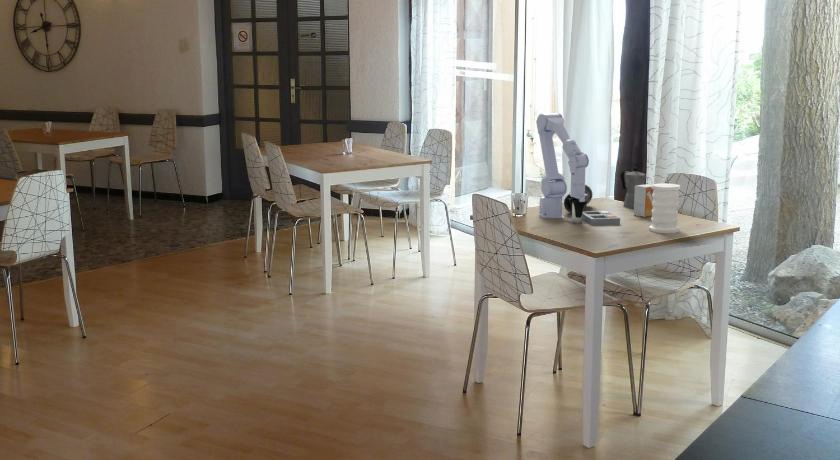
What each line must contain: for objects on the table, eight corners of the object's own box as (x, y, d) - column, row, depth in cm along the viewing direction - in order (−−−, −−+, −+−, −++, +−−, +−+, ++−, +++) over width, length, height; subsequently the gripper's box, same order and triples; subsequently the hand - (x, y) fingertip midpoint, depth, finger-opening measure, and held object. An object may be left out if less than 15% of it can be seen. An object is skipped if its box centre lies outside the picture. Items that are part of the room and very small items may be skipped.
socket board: (591, 226, 379) (591, 218, 378) (578, 218, 396) (579, 210, 396) (619, 225, 380) (620, 217, 379) (606, 217, 397) (606, 210, 397)
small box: (644, 217, 397) (645, 187, 395) (633, 215, 402) (634, 185, 400) (657, 215, 402) (658, 185, 400) (645, 213, 407) (647, 183, 405)
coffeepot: (652, 207, 421) (653, 168, 418) (637, 209, 416) (638, 169, 413) (627, 203, 434) (628, 164, 430) (612, 205, 429) (613, 166, 425)
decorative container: (674, 227, 375) (676, 183, 372) (683, 233, 364) (685, 187, 361) (645, 227, 375) (647, 183, 372) (653, 233, 364) (655, 187, 360)
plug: (573, 223, 383) (573, 203, 381) (570, 221, 387) (571, 202, 385) (582, 222, 383) (583, 203, 382) (580, 221, 387) (580, 202, 386)
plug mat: (570, 225, 381) (570, 223, 381) (566, 222, 388) (566, 220, 388) (587, 224, 382) (587, 223, 382) (582, 221, 389) (582, 220, 389)
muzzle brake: (562, 215, 403) (563, 192, 401) (571, 205, 430) (572, 183, 428) (585, 216, 401) (585, 192, 399) (592, 206, 427) (593, 183, 425)
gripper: (592, 186, 375) (591, 219, 378) (582, 180, 389) (581, 213, 392) (575, 186, 374) (574, 219, 377) (565, 181, 389) (565, 213, 391)
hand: (576, 216), depth 384 cm, fingers closed on plug, 4 cm apart
